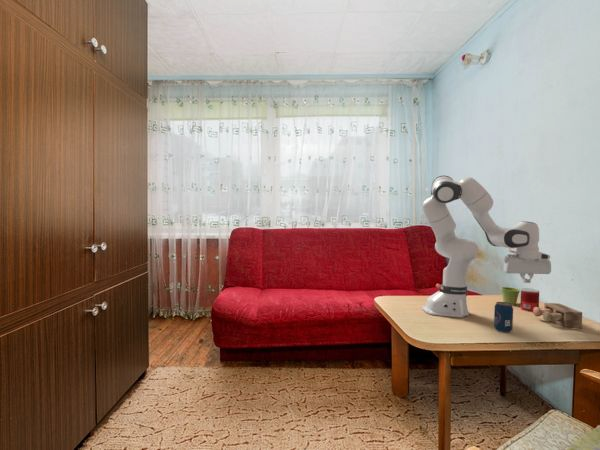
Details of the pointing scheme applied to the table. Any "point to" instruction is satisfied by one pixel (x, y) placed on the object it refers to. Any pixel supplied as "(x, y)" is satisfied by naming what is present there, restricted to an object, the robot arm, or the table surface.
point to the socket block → (566, 315)
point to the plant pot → (510, 295)
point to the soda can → (503, 317)
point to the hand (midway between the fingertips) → (526, 282)
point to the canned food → (529, 299)
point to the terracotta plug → (541, 311)
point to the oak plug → (553, 316)
